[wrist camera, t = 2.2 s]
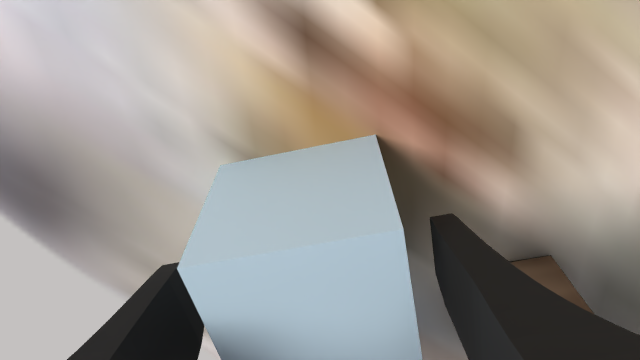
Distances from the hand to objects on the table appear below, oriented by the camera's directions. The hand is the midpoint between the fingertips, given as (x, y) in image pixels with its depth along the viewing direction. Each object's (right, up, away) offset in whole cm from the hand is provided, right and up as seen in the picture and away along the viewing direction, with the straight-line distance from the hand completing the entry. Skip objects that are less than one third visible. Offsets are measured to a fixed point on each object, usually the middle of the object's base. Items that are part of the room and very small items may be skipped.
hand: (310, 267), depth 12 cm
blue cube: (0, +1, +2) cm, 3 cm away
